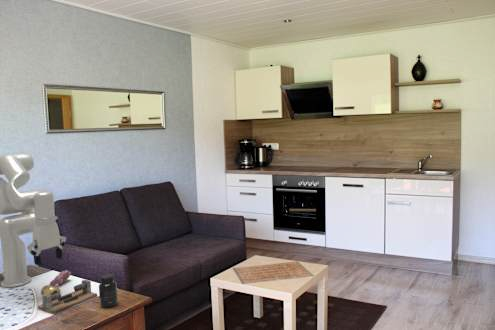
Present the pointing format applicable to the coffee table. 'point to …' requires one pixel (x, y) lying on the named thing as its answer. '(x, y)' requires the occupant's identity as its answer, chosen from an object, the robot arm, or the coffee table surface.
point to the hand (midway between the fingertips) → (48, 261)
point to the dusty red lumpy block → (60, 278)
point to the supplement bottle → (108, 291)
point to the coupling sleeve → (49, 290)
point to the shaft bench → (67, 298)
